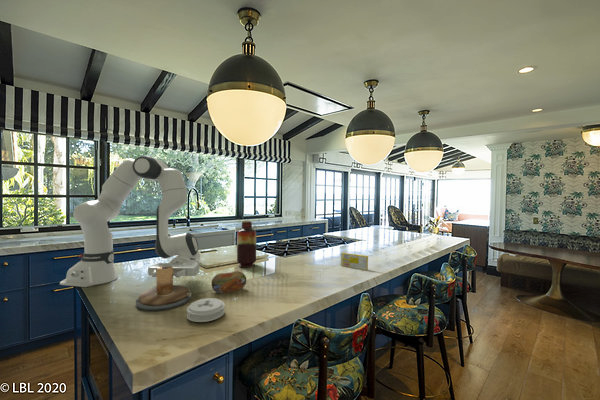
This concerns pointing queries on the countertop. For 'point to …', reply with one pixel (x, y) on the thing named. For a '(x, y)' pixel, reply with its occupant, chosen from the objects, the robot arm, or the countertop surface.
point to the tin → (228, 282)
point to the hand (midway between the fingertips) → (165, 275)
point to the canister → (164, 280)
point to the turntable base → (162, 307)
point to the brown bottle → (246, 245)
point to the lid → (205, 310)
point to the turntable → (156, 300)
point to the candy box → (354, 261)
